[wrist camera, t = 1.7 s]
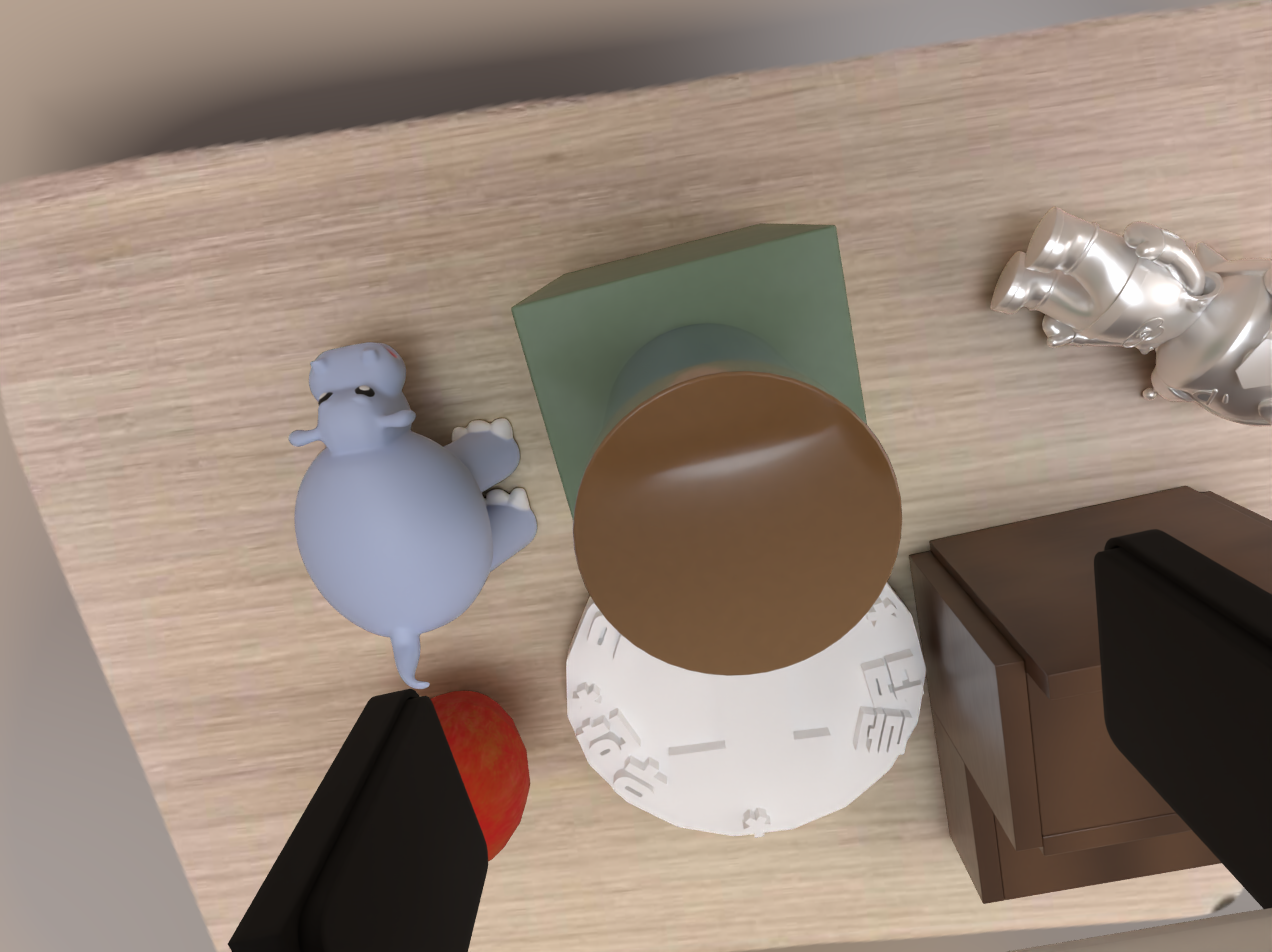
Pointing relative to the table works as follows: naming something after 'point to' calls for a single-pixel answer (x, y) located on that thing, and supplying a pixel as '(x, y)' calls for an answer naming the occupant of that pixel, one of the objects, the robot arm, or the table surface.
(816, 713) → the white round plaque
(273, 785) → the table surface
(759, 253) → the stand
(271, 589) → the table surface
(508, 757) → the apple
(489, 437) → the hippopotamus toy
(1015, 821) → the wooden storage crate
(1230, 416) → the figurine
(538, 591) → the table surface
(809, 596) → the jar
